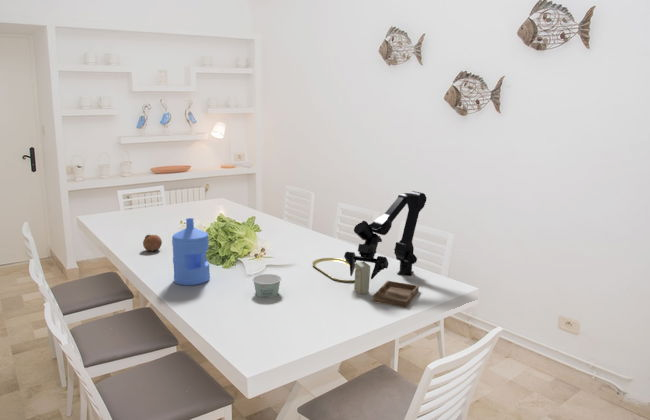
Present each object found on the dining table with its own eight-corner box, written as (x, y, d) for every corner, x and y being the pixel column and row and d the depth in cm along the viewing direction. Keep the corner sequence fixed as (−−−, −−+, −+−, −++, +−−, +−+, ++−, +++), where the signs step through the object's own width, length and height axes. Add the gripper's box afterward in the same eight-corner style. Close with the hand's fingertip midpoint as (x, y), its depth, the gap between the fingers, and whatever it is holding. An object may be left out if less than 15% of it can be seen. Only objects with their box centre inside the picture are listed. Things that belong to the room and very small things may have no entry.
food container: (254, 299, 205) (254, 284, 203) (250, 289, 216) (250, 274, 215) (283, 297, 208) (283, 282, 206) (278, 287, 219) (278, 272, 218)
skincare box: (353, 289, 218) (354, 262, 216) (363, 288, 220) (364, 261, 217) (359, 294, 212) (360, 266, 210) (369, 293, 214) (370, 265, 211)
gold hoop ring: (339, 286, 223) (339, 282, 223) (306, 263, 253) (306, 260, 253) (375, 280, 231) (375, 276, 231) (338, 259, 262) (339, 256, 262)
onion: (145, 257, 267) (135, 241, 264) (156, 248, 275) (146, 232, 272) (158, 253, 263) (148, 237, 260) (168, 243, 271) (159, 228, 268)
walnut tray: (387, 286, 223) (387, 280, 222) (418, 291, 217) (418, 285, 217) (372, 301, 205) (372, 295, 204) (406, 307, 199) (406, 301, 199)
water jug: (166, 282, 223) (163, 220, 217) (191, 272, 236) (188, 213, 230) (193, 288, 216) (190, 224, 210) (217, 277, 229) (215, 217, 223)
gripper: (346, 233, 218) (335, 265, 211) (387, 238, 211) (378, 271, 204) (352, 246, 227) (342, 277, 220) (392, 252, 220) (383, 284, 212)
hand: (361, 277), depth 213 cm, fingers open, 9 cm apart
